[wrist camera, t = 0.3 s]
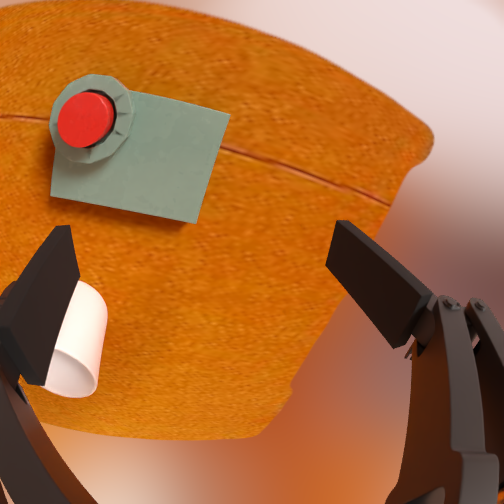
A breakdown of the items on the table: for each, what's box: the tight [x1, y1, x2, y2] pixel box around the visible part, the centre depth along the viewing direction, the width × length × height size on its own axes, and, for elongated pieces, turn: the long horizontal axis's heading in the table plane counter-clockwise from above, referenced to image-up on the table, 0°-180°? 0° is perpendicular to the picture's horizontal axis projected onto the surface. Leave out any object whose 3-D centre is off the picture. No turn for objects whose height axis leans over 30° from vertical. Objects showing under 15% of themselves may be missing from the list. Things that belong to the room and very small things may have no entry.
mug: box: [41, 280, 108, 398], centre depth 22 cm, size 12×8×10 cm
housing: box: [49, 74, 230, 224], centre depth 20 cm, size 14×11×4 cm
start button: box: [57, 92, 114, 148], centre depth 16 cm, size 4×4×2 cm
